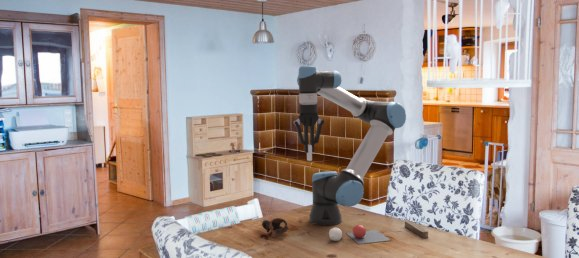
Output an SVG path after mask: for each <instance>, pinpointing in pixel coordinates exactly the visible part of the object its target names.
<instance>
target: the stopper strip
mask: <svg viewBox="0 0 579 258" xmlns="http://www.w3.org/2000/svg"><path fill="white" fill-rule="evenodd" d="M404 227H405V228H406V229H408V230H409V231H411V232H412V233H414V234H416V235H418V237H420V238H422V239H427V238H429V231H428V230H426V229H425V228H423V227H421V226H419V225H417V224H416V223H414V222H413V221H411V220H404Z"/></svg>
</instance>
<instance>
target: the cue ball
mask: <svg viewBox="0 0 579 258" xmlns="http://www.w3.org/2000/svg"><path fill="white" fill-rule="evenodd" d="M328 237H329V239H330V240H331V241H332V242H333V241H334V242H337V241H340V240H341V239H342V237H343V232H342V230H341V229H340V228H339V227H332V228H330V229H329V232H328Z"/></svg>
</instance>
